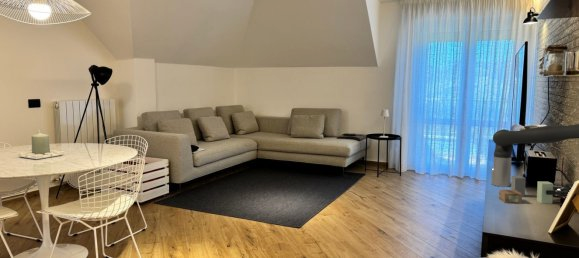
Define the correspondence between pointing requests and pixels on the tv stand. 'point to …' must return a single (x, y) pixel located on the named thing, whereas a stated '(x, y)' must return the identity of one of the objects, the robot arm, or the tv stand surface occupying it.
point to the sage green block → (544, 192)
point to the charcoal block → (518, 184)
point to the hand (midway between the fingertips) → (542, 190)
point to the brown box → (510, 196)
